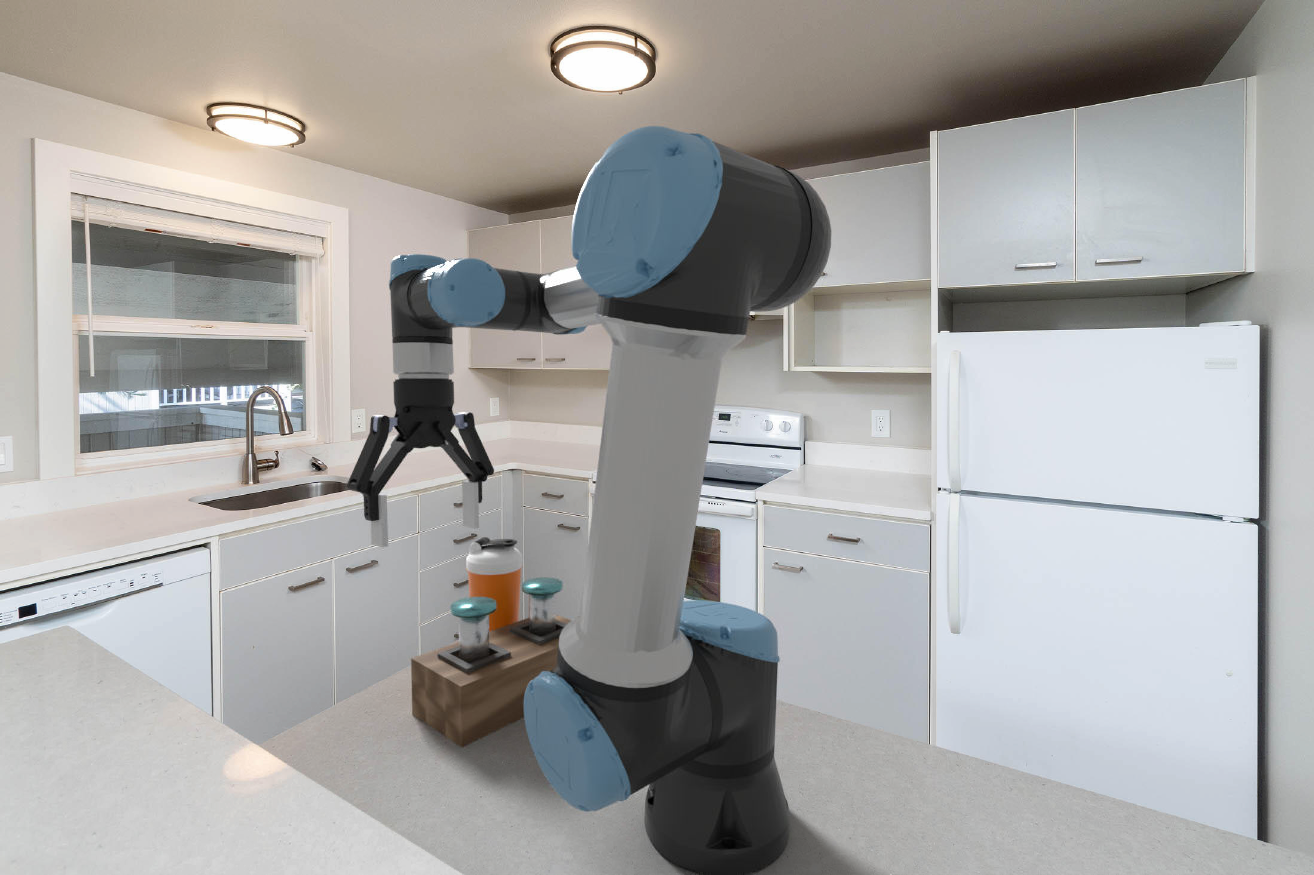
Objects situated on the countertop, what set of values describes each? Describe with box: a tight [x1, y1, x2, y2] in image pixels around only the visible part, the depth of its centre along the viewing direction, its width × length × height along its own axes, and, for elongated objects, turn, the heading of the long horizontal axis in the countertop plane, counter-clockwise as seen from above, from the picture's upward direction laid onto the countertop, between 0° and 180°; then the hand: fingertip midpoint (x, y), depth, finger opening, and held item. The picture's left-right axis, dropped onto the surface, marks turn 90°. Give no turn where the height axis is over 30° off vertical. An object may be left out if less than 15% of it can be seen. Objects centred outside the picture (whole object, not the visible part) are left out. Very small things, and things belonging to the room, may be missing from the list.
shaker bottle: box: [465, 536, 524, 631], centre depth 106 cm, size 9×9×20 cm
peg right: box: [521, 576, 563, 637], centre depth 98 cm, size 6×6×9 cm
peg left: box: [450, 597, 496, 664], centre depth 89 cm, size 6×6×9 cm
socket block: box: [410, 614, 572, 748], centre depth 94 cm, size 12×24×9 cm, turn 140°
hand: (428, 535), depth 87 cm, fingers open, 13 cm apart
